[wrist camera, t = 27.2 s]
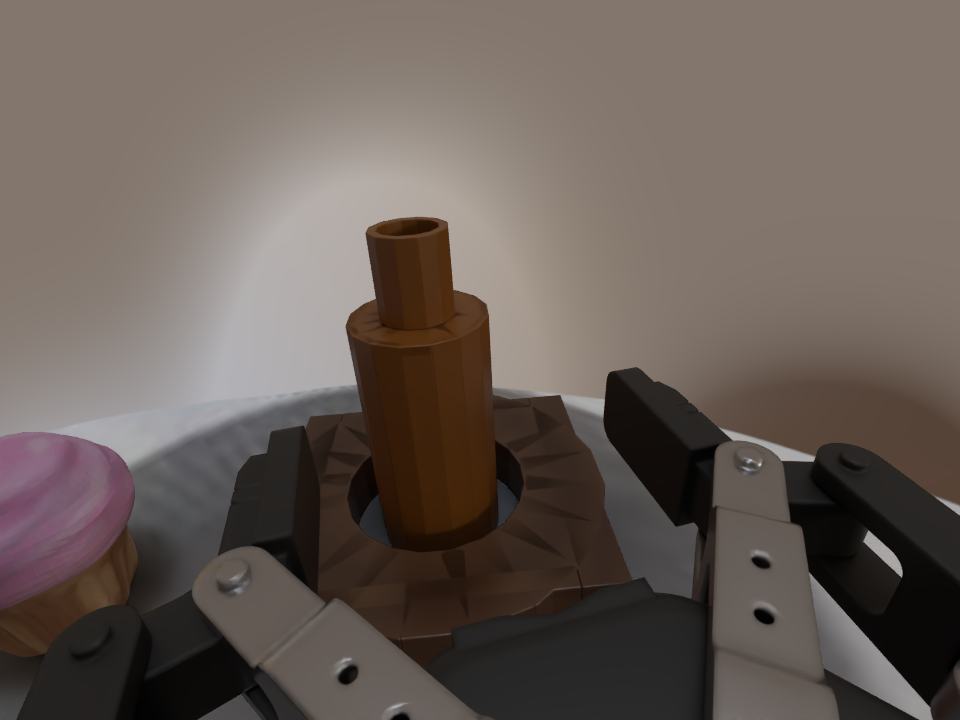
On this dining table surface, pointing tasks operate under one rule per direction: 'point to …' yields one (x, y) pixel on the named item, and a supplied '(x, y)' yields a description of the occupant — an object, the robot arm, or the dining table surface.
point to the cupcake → (60, 536)
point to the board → (480, 564)
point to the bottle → (425, 390)
